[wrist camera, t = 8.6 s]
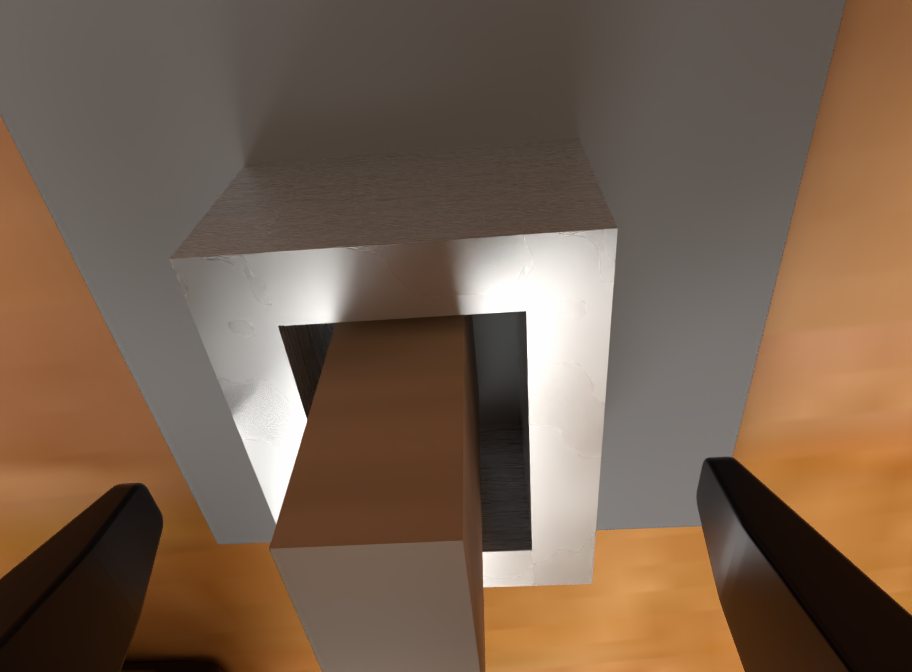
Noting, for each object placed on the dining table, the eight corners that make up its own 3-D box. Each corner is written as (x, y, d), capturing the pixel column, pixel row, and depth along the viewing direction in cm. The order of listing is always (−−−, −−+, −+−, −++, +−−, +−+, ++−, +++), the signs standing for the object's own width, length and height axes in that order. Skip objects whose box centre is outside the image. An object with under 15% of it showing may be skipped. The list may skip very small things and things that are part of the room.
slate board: (706, 502, 18) (714, 525, 17) (226, 521, 19) (217, 544, 18) (842, -95, 10) (869, -93, 9) (-26, -8, 10) (-58, -1, 10)
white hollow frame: (569, 456, 16) (591, 583, 13) (333, 467, 16) (303, 593, 13) (579, 138, 11) (617, 228, 8) (244, 164, 11) (168, 259, 8)
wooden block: (478, 387, 14) (486, 718, 9) (392, 392, 14) (344, 721, 9) (464, 229, 12) (462, 541, 6) (361, 236, 12) (269, 548, 6)
